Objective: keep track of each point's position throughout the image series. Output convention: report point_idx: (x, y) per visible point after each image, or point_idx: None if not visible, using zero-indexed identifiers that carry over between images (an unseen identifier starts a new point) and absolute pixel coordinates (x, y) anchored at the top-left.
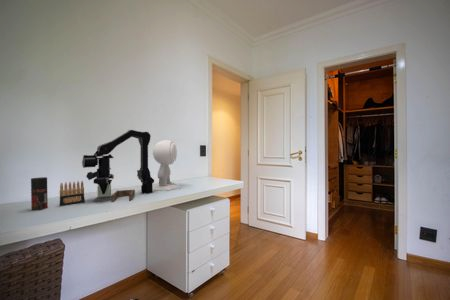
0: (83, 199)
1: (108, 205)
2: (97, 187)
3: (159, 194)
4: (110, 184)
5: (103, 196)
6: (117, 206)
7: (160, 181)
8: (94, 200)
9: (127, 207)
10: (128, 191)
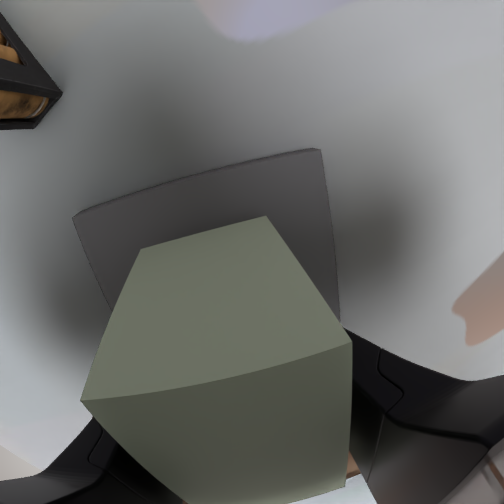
0: (1, 121)
1: (22, 405)
2: (92, 368)
3: (320, 498)
4: (341, 485)
5: (308, 237)
6: (32, 443)
7: None
8: (80, 229)
9: (42, 470)
10: None
